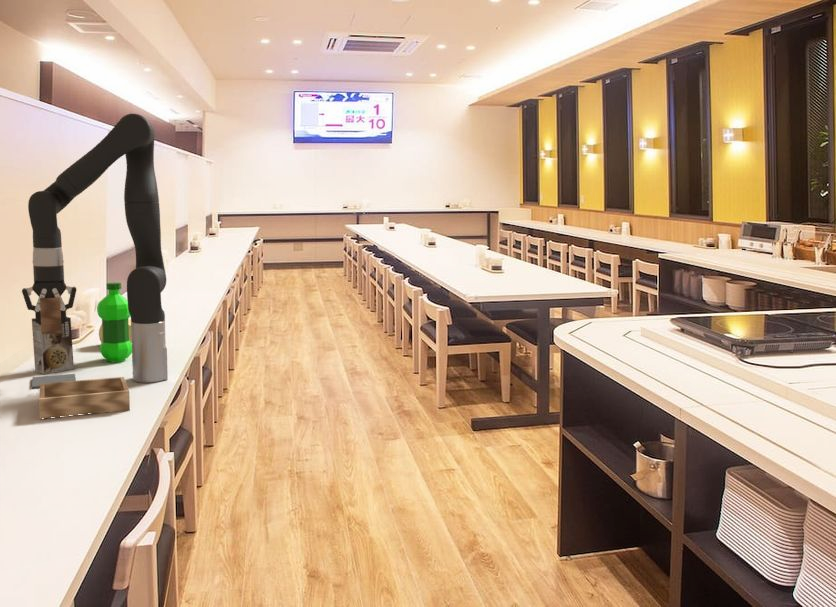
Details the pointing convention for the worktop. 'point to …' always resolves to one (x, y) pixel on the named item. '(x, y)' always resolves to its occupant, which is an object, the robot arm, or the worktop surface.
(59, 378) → the slate mat
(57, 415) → the caddy
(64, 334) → the coffee box
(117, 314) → the plastic bottle
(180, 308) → the worktop surface
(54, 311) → the walnut block
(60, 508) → the worktop surface
